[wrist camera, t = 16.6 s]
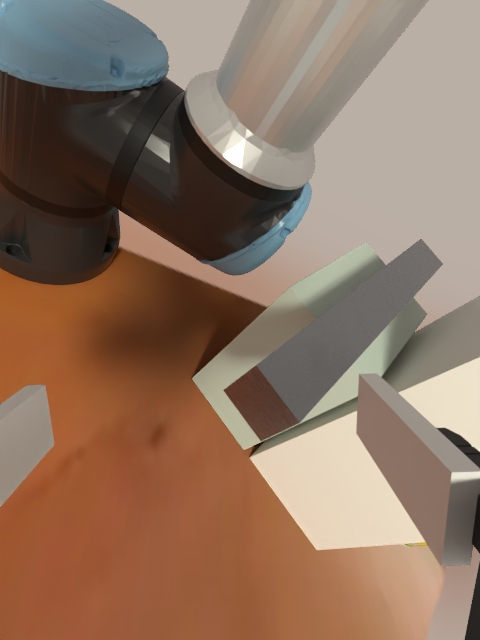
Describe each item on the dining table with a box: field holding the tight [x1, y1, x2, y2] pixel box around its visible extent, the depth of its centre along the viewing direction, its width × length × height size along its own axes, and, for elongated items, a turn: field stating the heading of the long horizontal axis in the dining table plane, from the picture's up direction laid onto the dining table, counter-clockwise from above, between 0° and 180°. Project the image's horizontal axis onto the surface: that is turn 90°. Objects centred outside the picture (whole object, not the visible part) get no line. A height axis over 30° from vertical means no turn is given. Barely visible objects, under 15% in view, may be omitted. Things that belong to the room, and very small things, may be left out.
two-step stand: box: [192, 243, 480, 550], centre depth 36 cm, size 16×23×30 cm
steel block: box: [223, 239, 443, 441], centre depth 30 cm, size 30×4×4 cm, turn 133°
